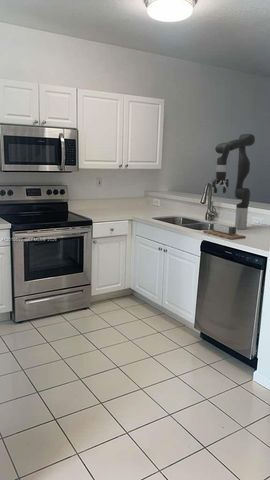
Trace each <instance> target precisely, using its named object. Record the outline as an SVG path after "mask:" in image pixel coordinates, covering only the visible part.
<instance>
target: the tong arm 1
mask: <svg viewBox="0 0 270 480" xmlns="http://www.w3.org/2000/svg"><path fill="white" fill-rule="evenodd" d="M220 224H221V223H218V224H214V230H215V231H220V232H224V233H228V234H231V235H232V234H233V232H234V227H235V226H232V227H229V226H230V225H227V226H225V225H226V224H223V225H220Z"/></svg>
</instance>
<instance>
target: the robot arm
mask: <svg viewBox="0 0 270 480" xmlns="http://www.w3.org/2000/svg"><path fill="white" fill-rule="evenodd" d="M255 141H256V137H255V135H254V134H252V133H243V134H240V135H239V137H238V138H237V139H232V140H229V141H228V142H221V143H218V144H217V145H216V146H215V148H214V149H215V152H216V154H221V155H220V156H218V157H217V160H216V168H215V178H213V179H212V183H211V184H212V185H211V187H212V188H213V193H214V194H218V187H220V186H222V187H223V188H222V193H223V194H225V193H226V192H227V188H228V187H229V182H230V181H229V178H227V169H228V168H227V165H228V164H227V163H228V162H227V161H228V157H229V154H230V152H232V151H234V150H237V149H238V162H237V176H236V177H237V178H236V183H235V190H234V195H235V198H236V199H237V200H241V202H239V203H236V207H235V220H234V222H235V223H234V227H236V230H247V226H248V225H247V224H248V212H249V205H250V197H251V191H250V190H251V189H250V188H246V187H243V186H244V182H245V179H246V178H247V177H248V175H249V173H250V171H251V169H250V168H251V162H250V160H249V157H248V155H247V153H246V147H251V146H253V144H255Z"/></svg>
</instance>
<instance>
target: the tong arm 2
mask: <svg viewBox="0 0 270 480" xmlns="http://www.w3.org/2000/svg"><path fill="white" fill-rule="evenodd" d="M215 223H216V222H215ZM216 224H220V225H225V226H229V227H234V232H233V234H237V229H236V227H235V226H231V225H227V224H222V223H216Z"/></svg>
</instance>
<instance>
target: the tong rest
mask: <svg viewBox="0 0 270 480" xmlns="http://www.w3.org/2000/svg"><path fill="white" fill-rule="evenodd" d="M214 224H216V222H213V223H212V229H209V230H203V231H202V233H203V232H204V233H203V234H206V233H207V235H210V234H211V236H215V237H219V238H223V239H227V240H230V241H232V240H233V241H234V240H242V239H243V240H244V239H246V237H247V236H246V235H242V234H239V233H236V234H232V235H231V234H228V233H224V232H220V231H215V230H214Z"/></svg>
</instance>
